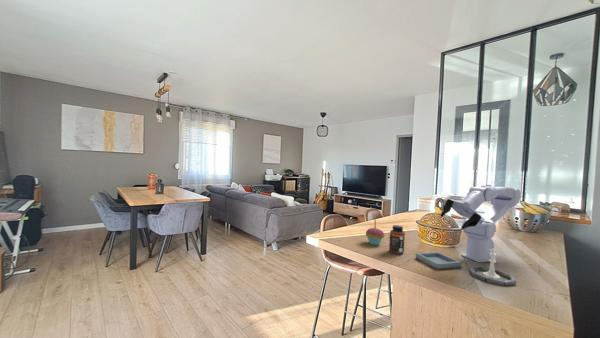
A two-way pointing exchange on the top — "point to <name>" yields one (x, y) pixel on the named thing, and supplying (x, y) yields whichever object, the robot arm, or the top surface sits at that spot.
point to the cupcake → (374, 235)
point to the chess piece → (492, 267)
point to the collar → (490, 280)
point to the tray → (438, 260)
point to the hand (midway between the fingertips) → (452, 220)
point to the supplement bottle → (397, 240)
